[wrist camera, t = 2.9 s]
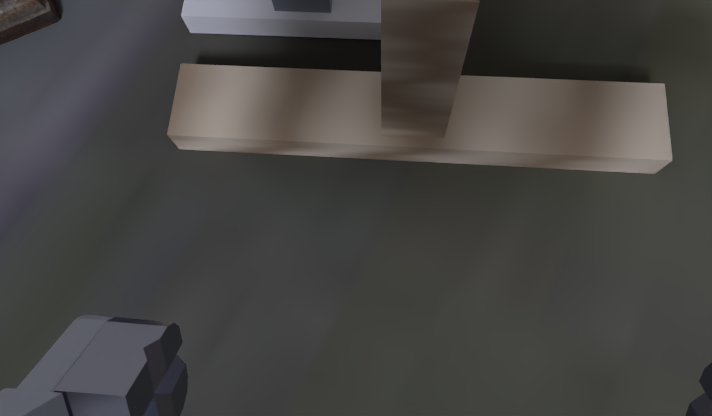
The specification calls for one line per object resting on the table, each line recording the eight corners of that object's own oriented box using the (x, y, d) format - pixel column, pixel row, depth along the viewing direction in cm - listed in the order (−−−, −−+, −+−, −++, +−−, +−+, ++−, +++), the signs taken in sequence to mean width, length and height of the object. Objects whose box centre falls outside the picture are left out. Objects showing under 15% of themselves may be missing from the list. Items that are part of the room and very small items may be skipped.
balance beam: (181, 151, 29) (49, 1, 17) (193, 83, 30) (77, -99, 19) (652, 175, 27) (847, 28, 16) (645, 103, 28) (822, -83, 17)
